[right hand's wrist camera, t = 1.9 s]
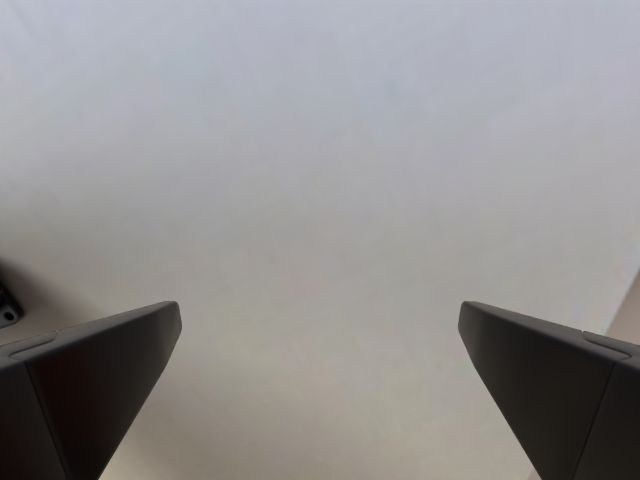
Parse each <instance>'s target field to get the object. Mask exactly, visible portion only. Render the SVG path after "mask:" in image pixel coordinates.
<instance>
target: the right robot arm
mask: <svg viewBox="0 0 640 480" xmlns="http://www.w3.org/2000/svg"><path fill="white" fill-rule="evenodd" d="M12 314H13V315H12ZM23 317H24V312H23V310H22V309H21V307H20V306H19V305H18V303H17V302H16V301H15V299H14V298H13V297H12V296H11V294H10V293H9V292H8V290H7V289H6V288H5V286H4V285H3V284H2V282H1V281H0V329H1V328H4V327H7V326H9V325H12V324H15V323H17V322H18V321H19V320H21V319H22V318H23ZM181 329H182V322H181V316H180V310H179V305H178V303H177V302H175V301H165V302H160V303H157V304H153V305H150V306H146V307H142V308H139V309H135V310H131V311H128V312H124V313H120V314H117V315H113V316H110V317H106V318H102V319H99V320H95V321H91V322H88V323H84V324H80V325H77V326H73V327H70V328H66V329H62V330H59V331H58V332H57V331H53V332H50V333H46V334H42V335H38V336H35V337H31V338H27V339H23V340H19V341H16V342H12V343H8V344H4V345H0V480H98V479H99V478H100V476H101V474H102V473H103V471H104V469H105V468H106V466H107V464H108V463H109V461H110V459H111V458H112V456H113V454H114V453H115V451H116V449H117V448H118V446H119V444H120V443H121V441H122V439H123V438H124V436H125V434H126V433H127V431H128V429H129V427H130V426H131V424H132V422H133V421H134V419H135V417H136V416H137V414H138V412H139V411H140V409H141V407H142V406H143V404H144V402H145V401H146V399H147V397H148V396H149V394H150V392H151V391H152V389H153V387H154V386H155V384H156V382H157V381H158V379H159V377H160V376H161V374H162V372H163V370H164V369H165V367H166V365H167V363H168V361H169V358H170V356H171V354H172V352H173V349H174V347H175V345H176V342H177V340H178V338H179V335H180V333H181ZM458 329H459V333H460V335H461V338H462V340H463V342H464V345H465V347H466V349H467V352H468V354H469V356H470V358H471V361H472V363H473V365H474V367H475V369H476V370H477V372H478V374H479V376H480V377H481V379H482V381H483V382H484V384H485V386H486V387H487V389H488V391H489V392H490V394H491V396H492V397H493V399H494V401H495V402H496V404H497V406H498V407H499V409H500V411H501V412H502V414H503V416H504V417H505V419H506V421H507V422H508V424H509V426H510V427H511V429H512V431H513V433H514V434H515V436H516V438H517V439H518V441H519V443H520V444H521V446H522V448H523V449H524V451H525V453H526V454H527V456H528V458H529V459H530V461H531V463H532V464H533V466H534V468H535V469H536V471H537V473H538V474H539V476H540V478H541V479H542V480H640V345H636V344H632V343H628V342H624V341H621V340H617V339H613V338H609V337H605V336H602V335H598V334H594V333H590V332H587V331H583V332H582V331H581V330H578V329H574V328H570V327H567V326H563V325H560V324H556V323H552V322H549V321H545V320H541V319H538V318H534V317H530V316H527V315H523V314H520V313H516V312H512V311H509V310H505V309H501V308H498V307H494V306H490V305H487V304H483V303H480V302H475V301H465V302H463V303H462V305H461V310H460V316H459V322H458Z"/></svg>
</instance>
